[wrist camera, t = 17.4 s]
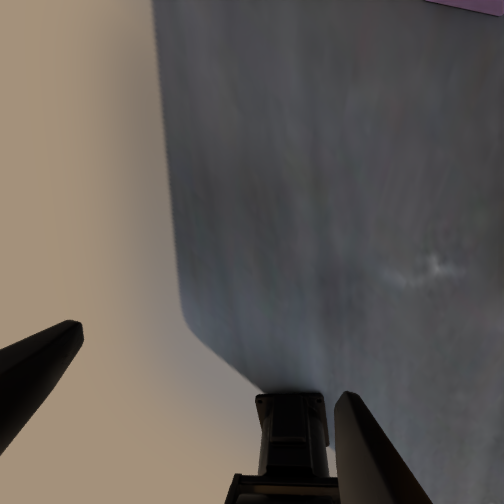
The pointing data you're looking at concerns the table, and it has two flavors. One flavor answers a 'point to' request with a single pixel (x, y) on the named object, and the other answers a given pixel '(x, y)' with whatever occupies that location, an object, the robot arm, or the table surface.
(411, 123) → the table surface
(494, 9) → the chocolate box
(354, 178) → the table surface
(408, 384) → the table surface
